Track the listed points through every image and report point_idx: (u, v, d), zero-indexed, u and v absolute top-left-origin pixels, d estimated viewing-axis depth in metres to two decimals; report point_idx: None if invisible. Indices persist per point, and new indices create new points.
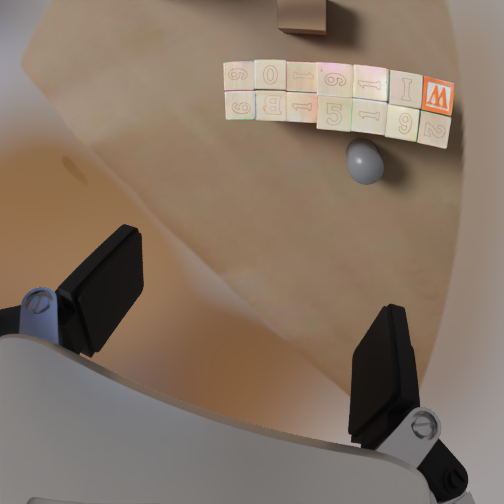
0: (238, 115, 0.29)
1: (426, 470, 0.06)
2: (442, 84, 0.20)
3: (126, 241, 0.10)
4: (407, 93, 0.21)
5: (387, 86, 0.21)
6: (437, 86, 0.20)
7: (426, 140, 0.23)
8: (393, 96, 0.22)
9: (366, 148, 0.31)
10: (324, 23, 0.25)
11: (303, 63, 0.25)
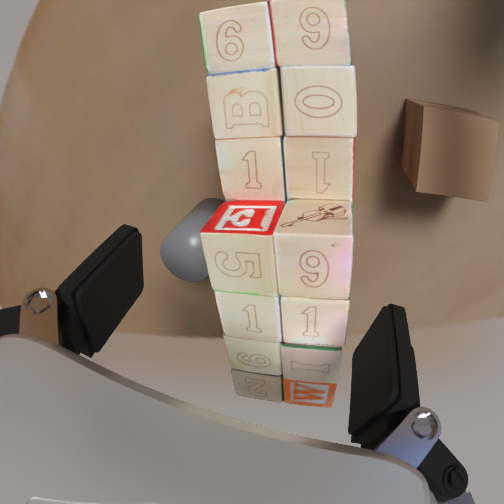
0: (211, 37, 0.11)
1: (426, 470, 0.06)
2: (328, 398, 0.17)
3: (126, 241, 0.10)
4: (303, 367, 0.15)
5: (310, 344, 0.14)
6: (323, 393, 0.17)
7: (238, 378, 0.18)
8: (294, 352, 0.15)
9: None
10: (429, 191, 0.16)
11: (349, 173, 0.13)
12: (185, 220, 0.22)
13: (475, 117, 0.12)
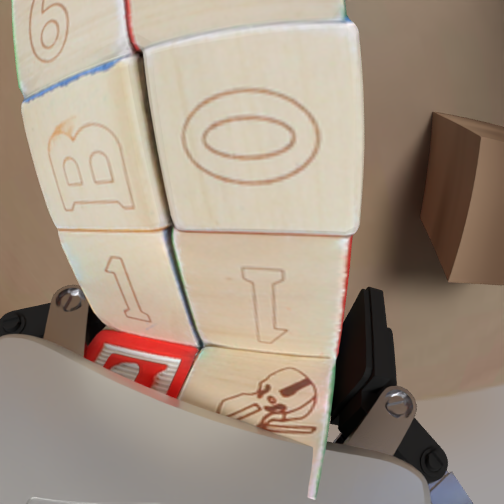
0: (23, 21, 0.03)
1: (402, 450, 0.06)
2: None
3: None
4: None
5: None
6: None
7: None
8: None
9: None
10: (468, 280, 0.09)
11: (334, 313, 0.05)
12: None
13: None
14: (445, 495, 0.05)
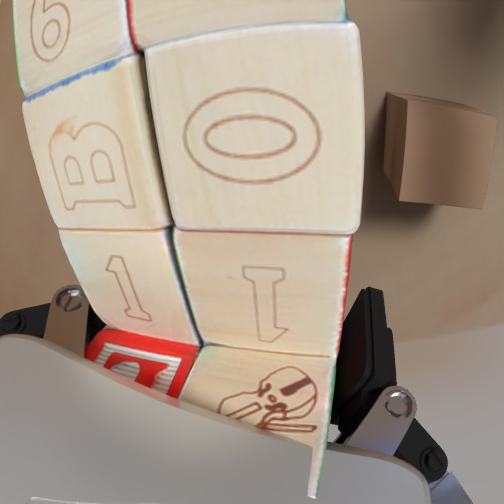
0: (24, 21, 0.03)
1: (402, 450, 0.06)
2: None
3: None
4: None
5: None
6: None
7: None
8: None
9: None
10: (414, 200, 0.14)
11: (334, 312, 0.05)
12: None
13: (469, 112, 0.11)
14: (445, 495, 0.05)
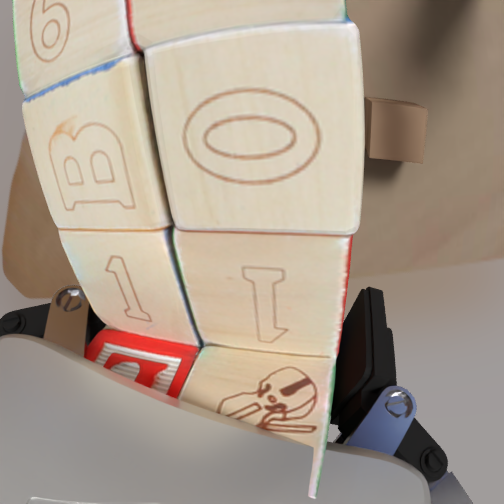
0: (24, 21, 0.03)
1: (402, 450, 0.06)
2: None
3: None
4: None
5: None
6: None
7: None
8: None
9: None
10: (378, 157, 0.25)
11: (334, 313, 0.05)
12: None
13: (408, 107, 0.21)
14: (445, 495, 0.05)
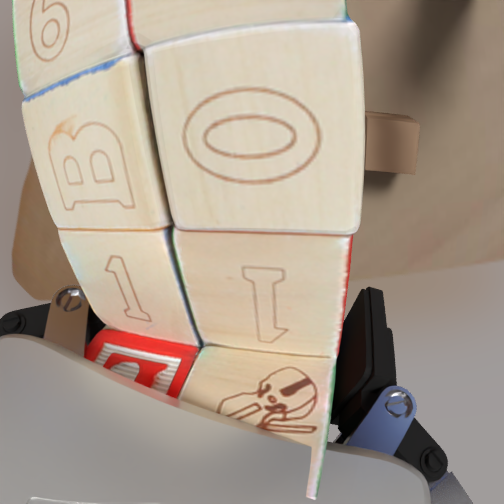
0: (23, 20, 0.03)
1: (402, 450, 0.06)
2: None
3: None
4: None
5: None
6: None
7: None
8: None
9: None
10: (373, 169, 0.27)
11: (334, 313, 0.05)
12: None
13: (402, 122, 0.24)
14: (445, 495, 0.05)
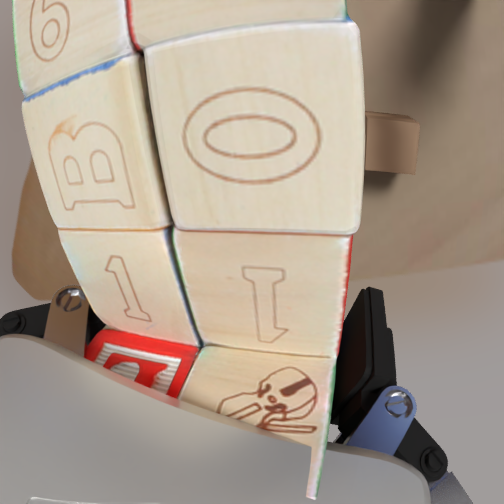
0: (23, 20, 0.03)
1: (402, 450, 0.06)
2: None
3: None
4: None
5: None
6: None
7: None
8: None
9: None
10: (373, 169, 0.27)
11: (334, 313, 0.05)
12: None
13: (402, 122, 0.24)
14: (445, 495, 0.05)
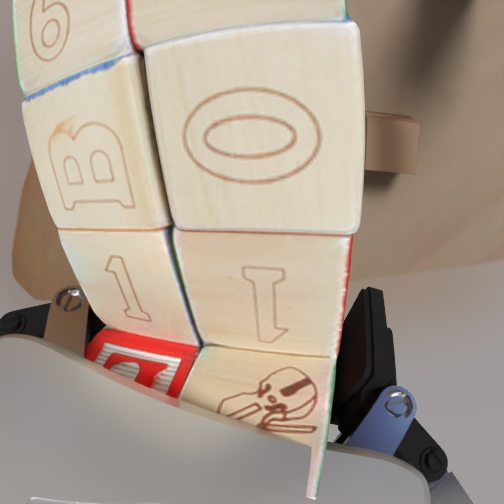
0: (23, 20, 0.03)
1: (402, 450, 0.06)
2: None
3: None
4: None
5: None
6: None
7: None
8: None
9: None
10: (373, 169, 0.27)
11: (334, 313, 0.05)
12: None
13: (402, 122, 0.24)
14: (445, 495, 0.05)
